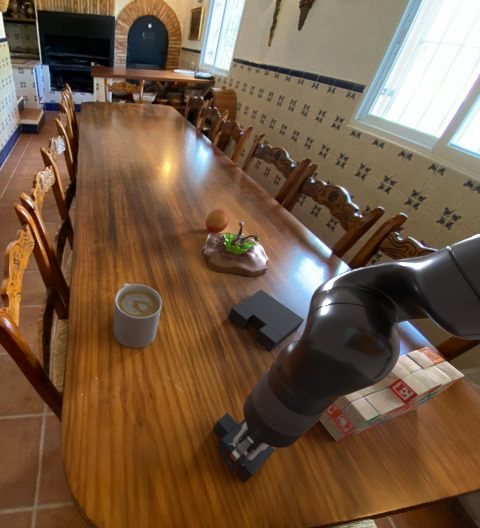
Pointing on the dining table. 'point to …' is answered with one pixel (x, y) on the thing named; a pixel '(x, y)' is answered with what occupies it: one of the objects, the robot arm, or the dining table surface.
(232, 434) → the pad
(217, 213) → the fruit
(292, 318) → the notch pad
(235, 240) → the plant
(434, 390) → the stack of blocks
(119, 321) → the coffee mug
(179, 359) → the dining table surface
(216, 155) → the dining table surface
